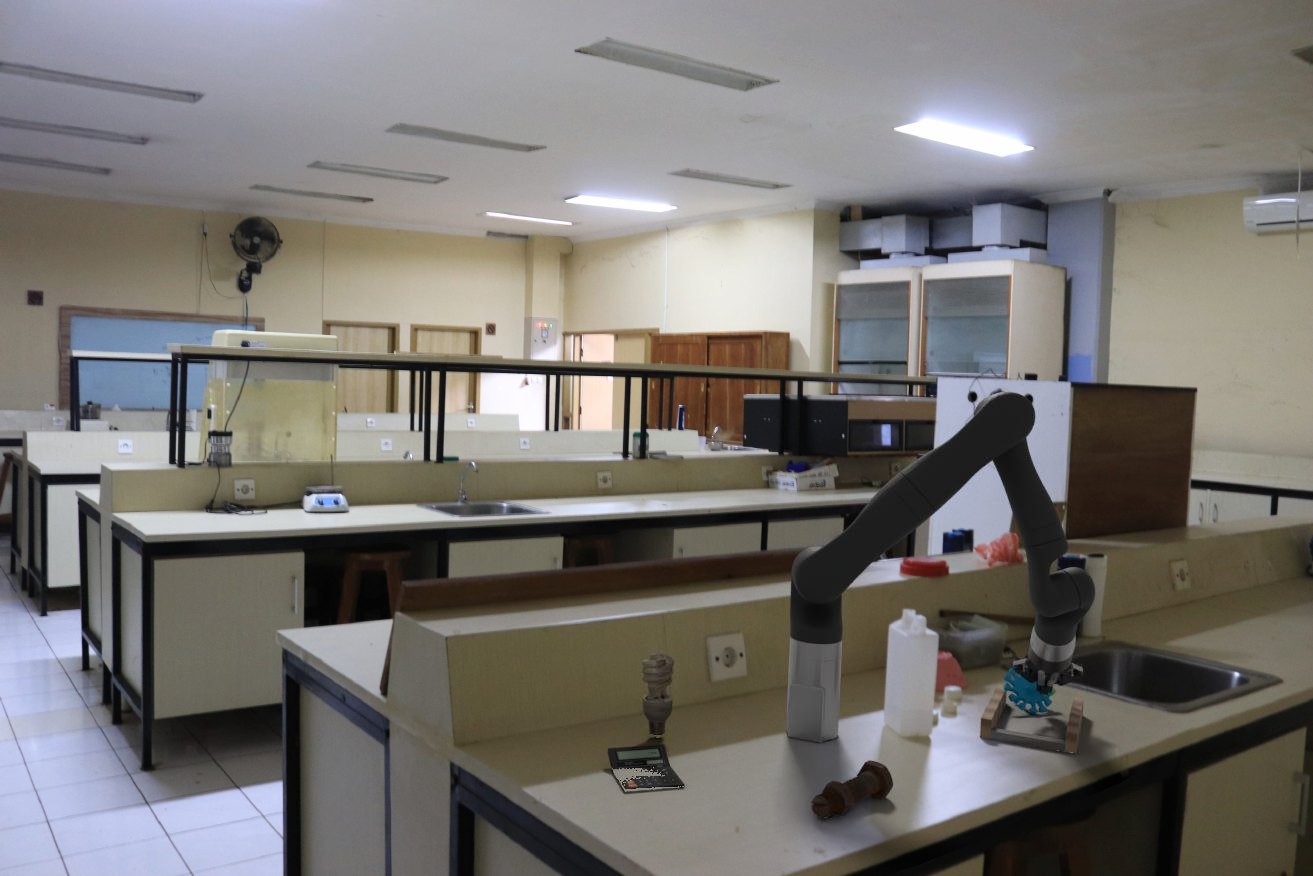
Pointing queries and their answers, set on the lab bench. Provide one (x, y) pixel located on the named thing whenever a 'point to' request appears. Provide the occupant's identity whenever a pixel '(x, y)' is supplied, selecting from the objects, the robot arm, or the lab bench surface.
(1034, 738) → the chute
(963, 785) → the lab bench surface
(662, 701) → the light bulb
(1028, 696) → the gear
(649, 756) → the calculator
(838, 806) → the bolt
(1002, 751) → the lab bench surface
